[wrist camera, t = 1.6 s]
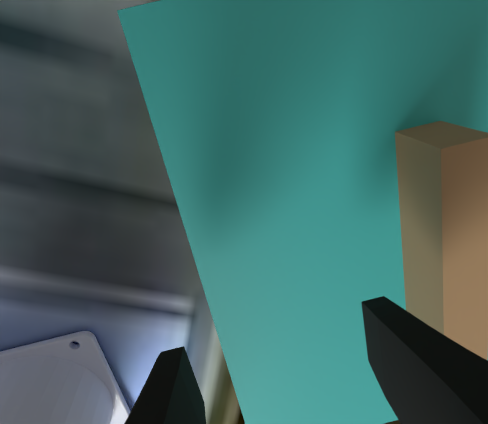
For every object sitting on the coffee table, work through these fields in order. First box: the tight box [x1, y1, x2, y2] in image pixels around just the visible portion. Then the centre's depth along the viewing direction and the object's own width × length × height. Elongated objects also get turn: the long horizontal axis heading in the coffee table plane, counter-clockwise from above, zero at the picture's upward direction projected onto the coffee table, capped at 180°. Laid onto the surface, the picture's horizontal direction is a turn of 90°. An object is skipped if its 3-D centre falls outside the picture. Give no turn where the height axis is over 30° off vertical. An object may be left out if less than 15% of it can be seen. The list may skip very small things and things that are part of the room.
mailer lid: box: [117, 0, 488, 424], centre depth 13 cm, size 14×18×3 cm
